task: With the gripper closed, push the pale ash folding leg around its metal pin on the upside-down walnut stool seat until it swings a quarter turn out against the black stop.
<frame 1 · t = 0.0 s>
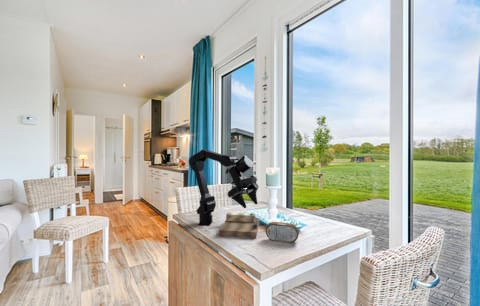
hand: (251, 205, 113), 15 cm above the table, tool tilted 35°, fingers open, 9 cm apart
stool seat: (240, 229, 123), on the table
retro speaker: (281, 241, 108), on the table
stool leg: (240, 216, 128), point 5 cm above the table, hinge at 0.0°
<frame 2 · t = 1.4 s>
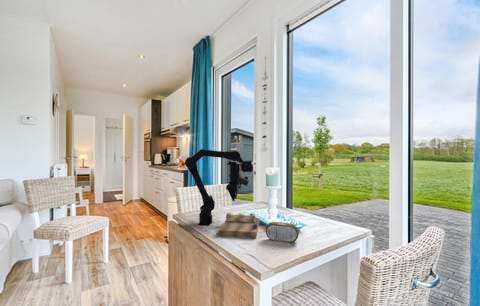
hand: (234, 199, 136), 13 cm above the table, tool pointing down, fingers open, 6 cm apart
nothing on the table moved.
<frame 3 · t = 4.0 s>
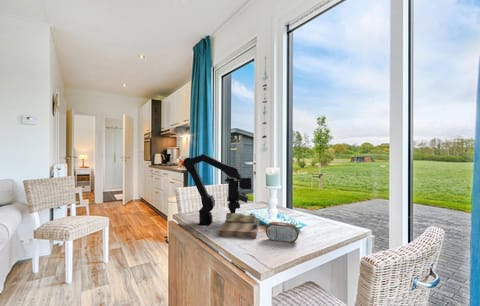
hand: (233, 216, 132), 4 cm above the table, tool pointing down, fingers closed
stool leg: (240, 217, 128), point 5 cm above the table, hinge at 1.8°, touching gripper
everything else where it was.
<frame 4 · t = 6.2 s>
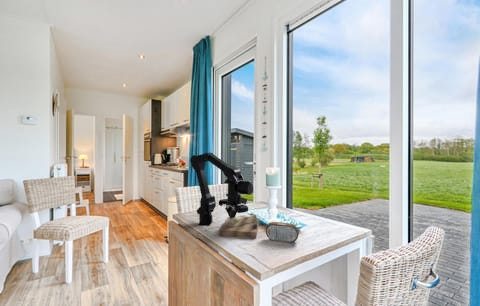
hand: (232, 221, 124), 4 cm above the table, tool pointing down, fingers closed
stool leg: (243, 219, 124), point 5 cm above the table, hinge at 45.6°, touching gripper
everything else where it was.
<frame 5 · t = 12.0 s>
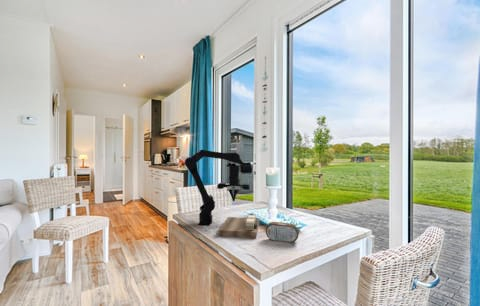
hand: (233, 200, 137), 12 cm above the table, tool pointing down, fingers closed
stool leg: (251, 220, 121), point 5 cm above the table, hinge at 90.6°
everything else where it was.
at the end: stool leg at +91° (first picture: +0°); the gripper is holding nothing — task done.
